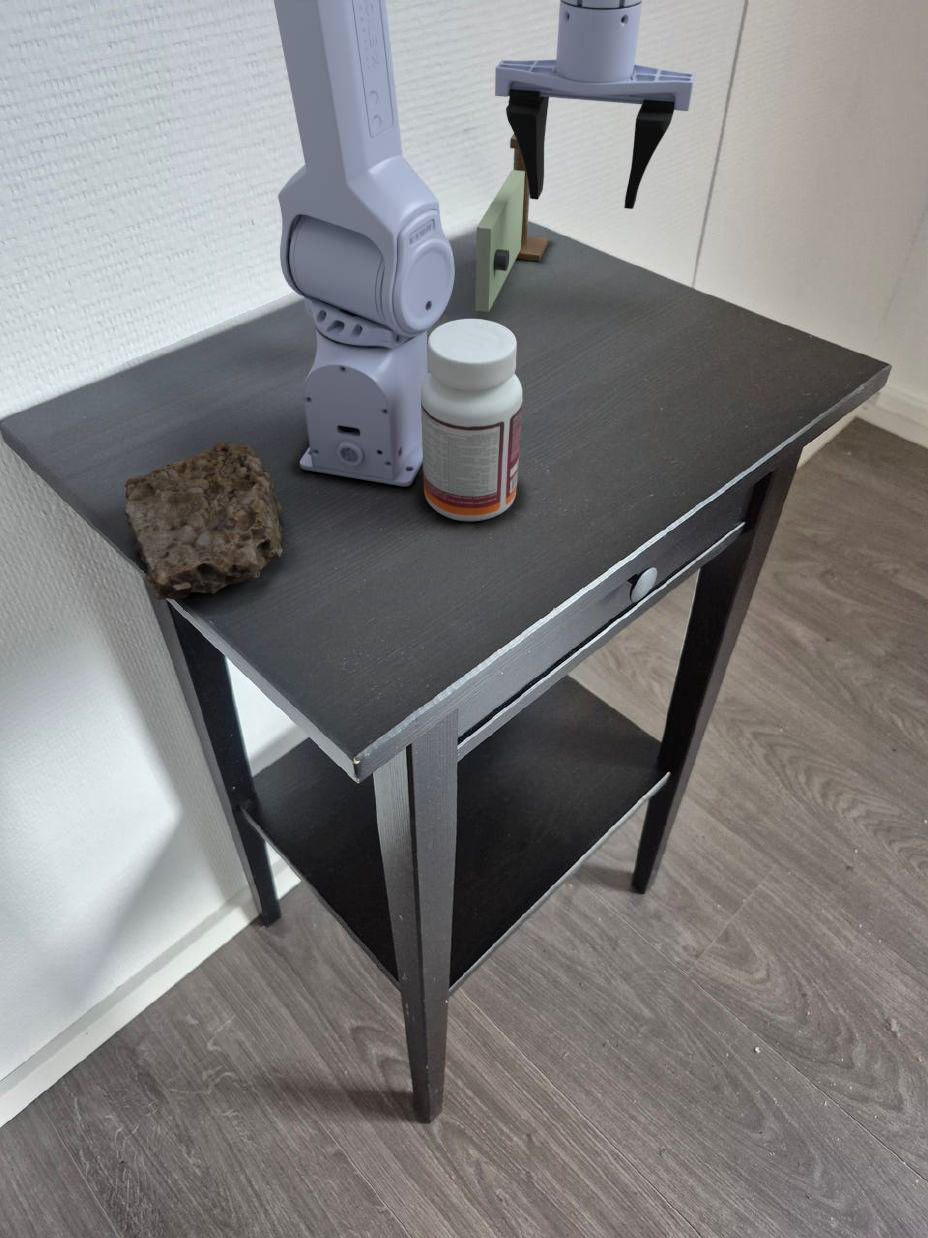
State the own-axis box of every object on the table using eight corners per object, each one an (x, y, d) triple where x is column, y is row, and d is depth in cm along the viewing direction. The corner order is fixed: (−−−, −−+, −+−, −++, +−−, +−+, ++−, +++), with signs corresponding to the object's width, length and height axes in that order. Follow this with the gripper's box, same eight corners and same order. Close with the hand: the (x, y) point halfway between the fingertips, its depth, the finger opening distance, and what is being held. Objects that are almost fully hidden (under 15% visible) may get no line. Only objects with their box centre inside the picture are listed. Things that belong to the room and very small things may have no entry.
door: (500, 313, 75) (503, 230, 70) (475, 310, 75) (476, 226, 70) (531, 250, 84) (536, 171, 78) (508, 247, 84) (511, 169, 79)
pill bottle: (475, 457, 62) (479, 303, 54) (535, 500, 59) (548, 343, 51) (405, 491, 59) (397, 334, 51) (463, 538, 56) (464, 378, 48)
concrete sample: (243, 407, 57) (248, 464, 61) (83, 454, 53) (100, 512, 57) (326, 530, 52) (326, 583, 56) (157, 593, 48) (170, 645, 52)
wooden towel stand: (539, 261, 84) (547, 145, 76) (487, 255, 85) (490, 140, 77) (547, 243, 86) (556, 130, 79) (497, 238, 87) (501, 125, 80)
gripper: (710, -9, 63) (677, 188, 73) (511, -21, 66) (506, 171, 76) (702, 16, 59) (669, 223, 69) (489, 3, 61) (486, 204, 71)
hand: (582, 199), depth 72 cm, fingers open, 7 cm apart
